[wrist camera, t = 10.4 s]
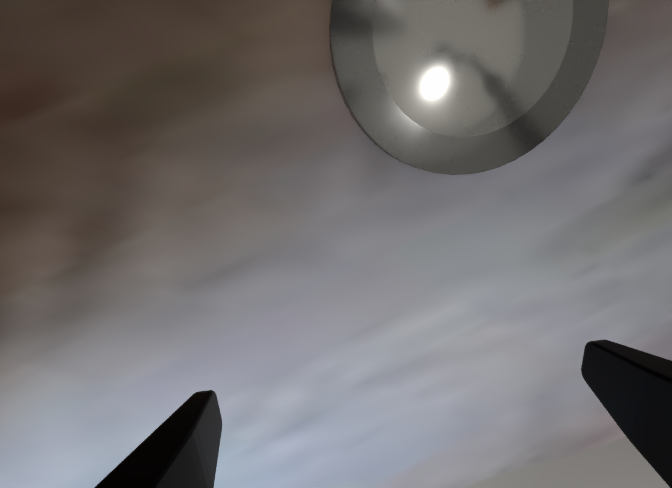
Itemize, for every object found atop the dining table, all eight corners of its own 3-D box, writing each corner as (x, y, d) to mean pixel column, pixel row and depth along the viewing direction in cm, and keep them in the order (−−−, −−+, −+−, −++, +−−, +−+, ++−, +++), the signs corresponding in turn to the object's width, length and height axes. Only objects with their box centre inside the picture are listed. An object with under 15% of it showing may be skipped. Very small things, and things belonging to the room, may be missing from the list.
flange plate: (613, -144, 16) (636, -165, 15) (574, 161, 21) (589, 162, 19) (315, -132, 15) (317, -153, 14) (340, 183, 20) (342, 187, 19)
